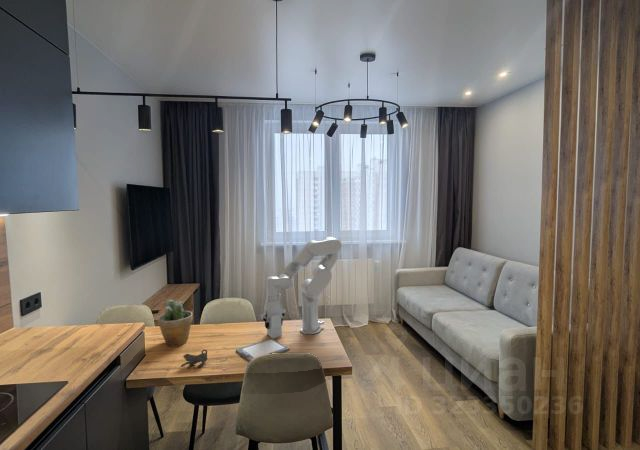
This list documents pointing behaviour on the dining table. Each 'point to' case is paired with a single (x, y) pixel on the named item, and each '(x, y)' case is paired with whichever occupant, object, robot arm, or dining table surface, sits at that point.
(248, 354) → the writing board
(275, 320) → the small box
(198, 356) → the dog figurine
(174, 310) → the potted plant
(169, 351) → the dining table surface
